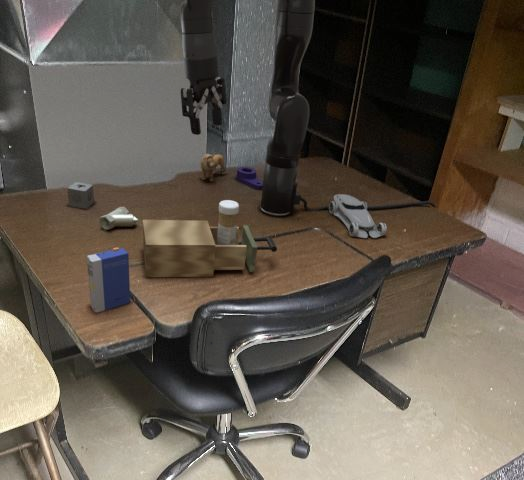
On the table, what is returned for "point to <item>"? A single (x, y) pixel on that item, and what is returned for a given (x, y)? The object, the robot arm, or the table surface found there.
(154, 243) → the cabinet
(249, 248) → the drawer
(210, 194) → the table surface
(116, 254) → the walkman
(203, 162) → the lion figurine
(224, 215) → the sprinkles bottle
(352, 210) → the car model
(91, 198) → the dice cube
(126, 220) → the pipe fitting
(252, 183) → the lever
